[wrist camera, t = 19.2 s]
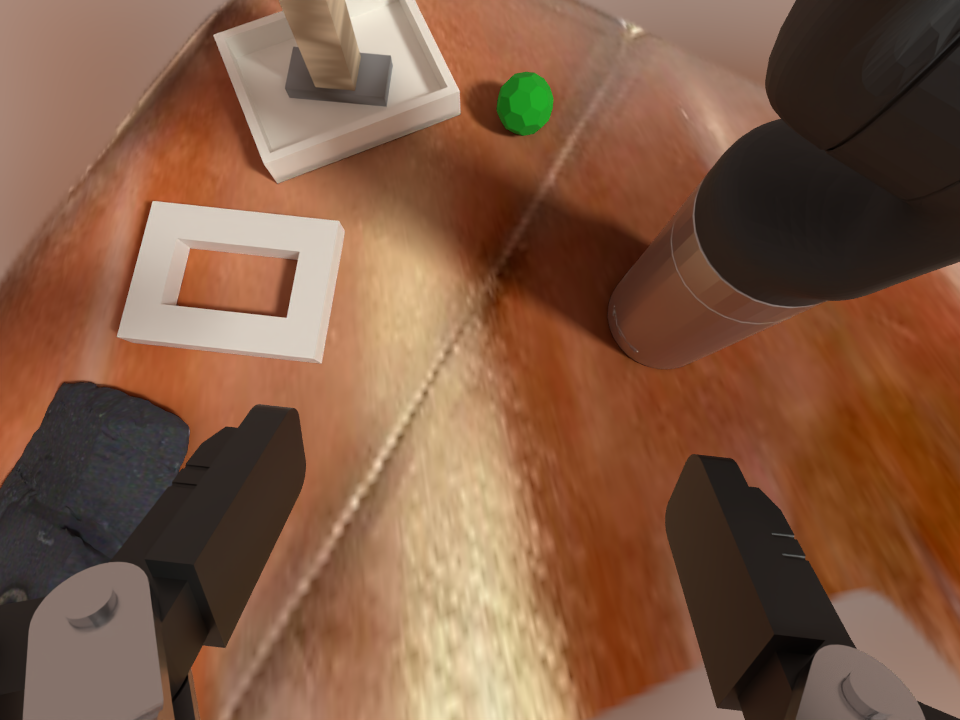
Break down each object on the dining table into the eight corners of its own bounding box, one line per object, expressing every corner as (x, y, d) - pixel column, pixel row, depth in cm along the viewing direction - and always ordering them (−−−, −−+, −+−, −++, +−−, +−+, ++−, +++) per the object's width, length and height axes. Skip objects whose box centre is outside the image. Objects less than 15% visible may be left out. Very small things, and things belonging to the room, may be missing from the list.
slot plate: (344, 231, 44) (339, 221, 42) (321, 363, 42) (314, 358, 40) (166, 212, 44) (152, 200, 42) (133, 342, 42) (116, 336, 40)
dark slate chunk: (235, 430, 41) (204, 426, 37) (108, 712, 37) (55, 748, 32) (68, 368, 42) (18, 357, 37) (-75, 637, 38) (-152, 662, 33)
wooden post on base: (392, 65, 47) (365, -71, 35) (386, 106, 46) (356, -19, 34) (297, 57, 47) (237, -82, 35) (289, 97, 46) (224, -30, 34)
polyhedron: (556, 110, 47) (565, 72, 42) (536, 153, 46) (543, 118, 41) (508, 91, 47) (511, 51, 43) (487, 133, 46) (488, 97, 42)
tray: (404, -1, 49) (400, -30, 46) (460, 114, 47) (459, 91, 44) (229, 61, 48) (213, 34, 45) (277, 183, 45) (263, 164, 42)
